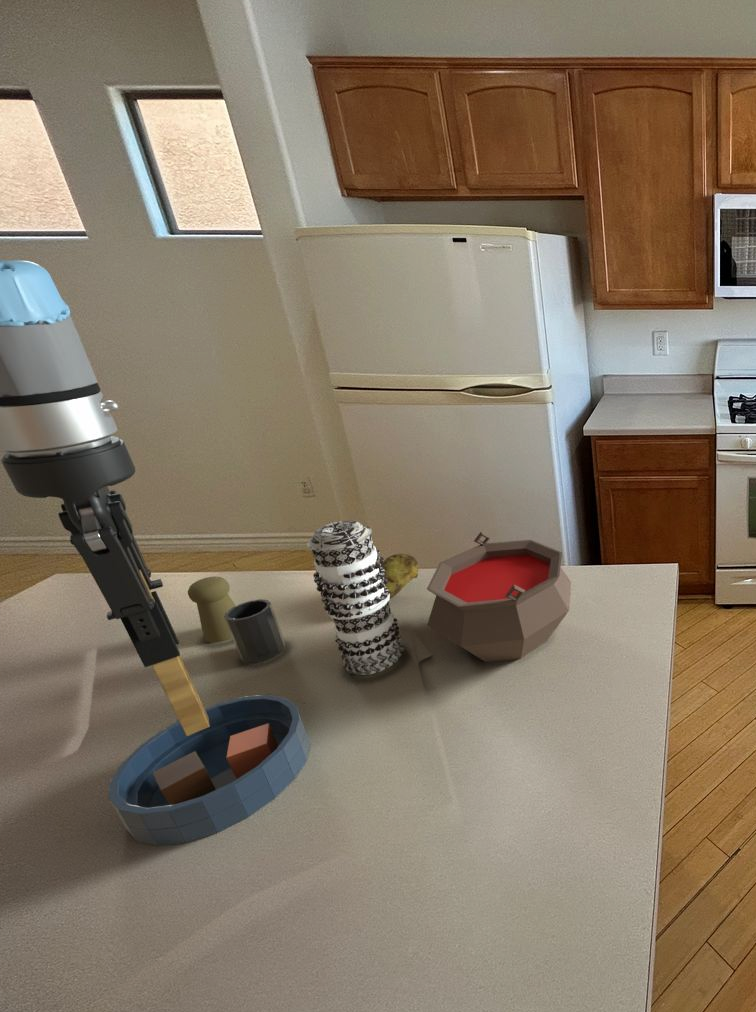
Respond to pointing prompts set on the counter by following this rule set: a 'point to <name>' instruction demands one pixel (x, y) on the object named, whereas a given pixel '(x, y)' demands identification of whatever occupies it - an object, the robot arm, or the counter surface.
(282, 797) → the counter surface
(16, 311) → the robot arm
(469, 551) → the brown cooking pot
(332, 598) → the decorative candle
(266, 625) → the cup
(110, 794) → the bowl
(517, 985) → the counter surface
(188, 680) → the stirring stick
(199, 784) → the walnut block
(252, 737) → the terracotta block
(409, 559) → the yellow green pear
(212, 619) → the cork
